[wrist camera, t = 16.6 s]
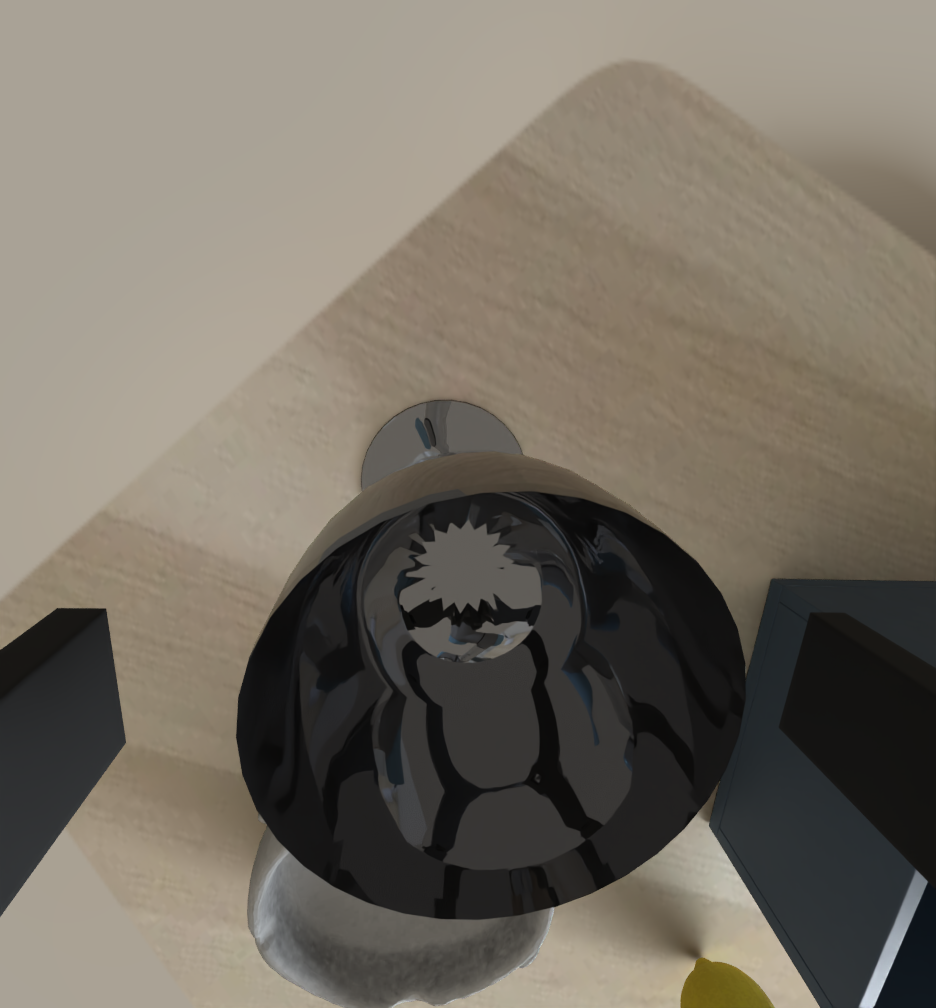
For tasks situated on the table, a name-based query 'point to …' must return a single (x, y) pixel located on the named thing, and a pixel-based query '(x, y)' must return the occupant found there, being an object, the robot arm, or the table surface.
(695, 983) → the lemon
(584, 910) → the table surface
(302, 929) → the dish
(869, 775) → the robot arm
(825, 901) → the chest
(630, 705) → the wine glass
